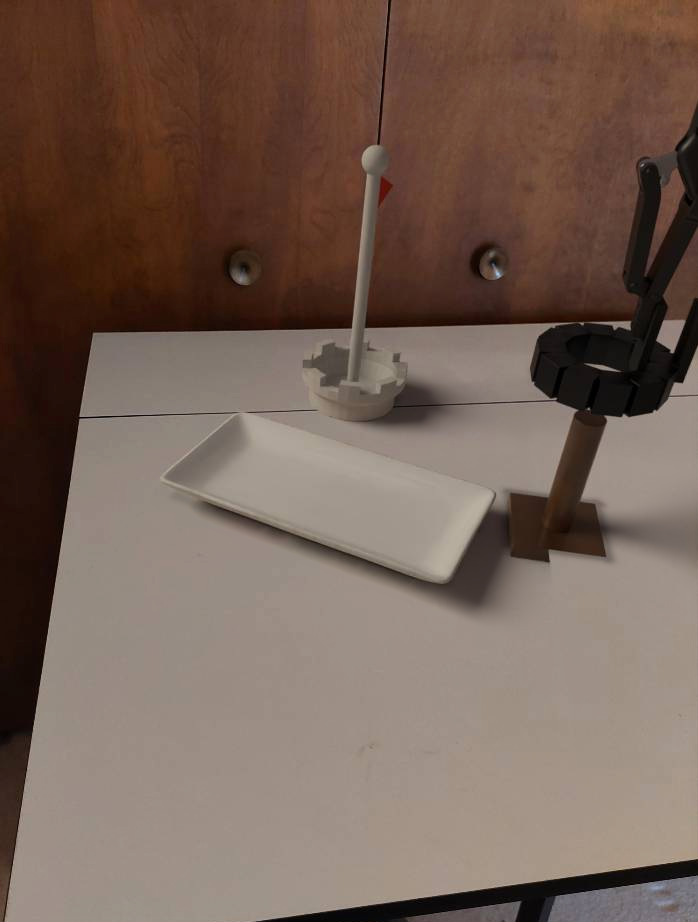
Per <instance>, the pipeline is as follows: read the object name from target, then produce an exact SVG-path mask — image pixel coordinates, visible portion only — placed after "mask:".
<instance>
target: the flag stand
mask: <svg viewBox="0 0 698 922" xmlns="http://www.w3.org/2000/svg"><path fill="white" fill-rule="evenodd" d="M389 155H390V154H389V152H388V150H387V149H386V148H385V147H383V146H382V145H381V144H373V145H370V146H368V147H367V148H366V149H365V150H364V152H363V153H362V156H361V166H362V169H363V170H364V172H366V181H365V182H366V183H365V189H364V190H365V192H364V200H363V201H364V202H363V212H362V222H361V231H360V232H361V233H360V241H359V253H358V262H357V263H358V264H357V274H356V282H355V283H356V285H355V293H354V303H353V304H354V305H353V315H352V324H351V325H352V326H351V334H350V335H351V337H350V340H349V345H336V341H335V340H334V339H333V338H329V339H323V340H321V341H318V342H316V343H315V351H311V350H307V349H306V350H305V351H304V353H303V354H302V355H303V356H302V366H301V368H302V369H301V378H302V382H303V383H304V384H305V386H306V387H307V388H308V401H309V403H310V404H311V406H312V407H313V408H314V409H315V410H316V411H318V412H319V413H321V414H323V415H325V416H328V417H330V418H334V419H337V420H342V421H347V422H349V421H350V422H365V421H372V420H375V419H380V418H382V417H384V416H386V415H387V414H388V413H390V412H391V411H392V409H393V408H394V405H395V401H396V396H398V395H399V394H400V393H402V391H403V390H404V389H405V386H406V382H407V376H408V368H409V365H408V364H409V363H408V361H401V354H402V353H401V352H400V351H399V350H398V349H396V348H395V347H393V346H391V345H389V344H386V345H384V346H382V347H381V350H379V349H376V348H373V347H370V341H371V339H369V338H364V337H365V330H366V329H365V328H366V321H367V320H366V319H367V311H368V302H369V291H370V282H371V273H372V266H373V265H372V264H373V256H374V255H373V254H374V246H375V245H374V244H375V236H376V227H377V220H378V219H377V216H378V210H379V208H380V206H381V204H382V203H383V202H384V200H385V199H386V197H387V196H388V195H389V193H390V191H391V190H392V188H394V187H393V186H394V184H393V183H391V182H390V181H389V180H388V179H386V178H385V177H384V176H382V174H384V172H386V171H387V169H388V168H389V165H390V156H389Z"/></svg>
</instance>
